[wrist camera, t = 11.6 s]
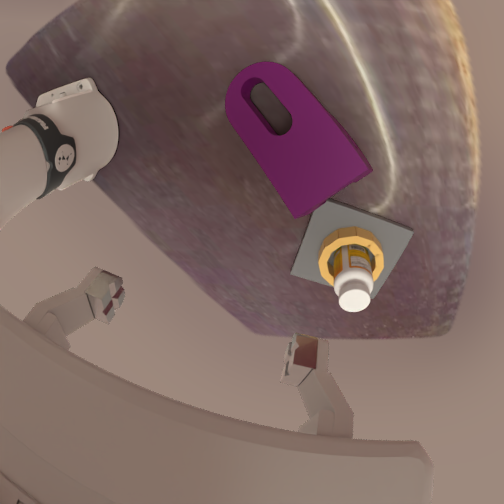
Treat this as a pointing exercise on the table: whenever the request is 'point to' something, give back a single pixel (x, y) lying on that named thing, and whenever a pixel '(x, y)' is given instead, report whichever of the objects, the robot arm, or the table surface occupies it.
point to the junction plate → (348, 219)
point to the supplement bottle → (353, 277)
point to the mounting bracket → (295, 140)
